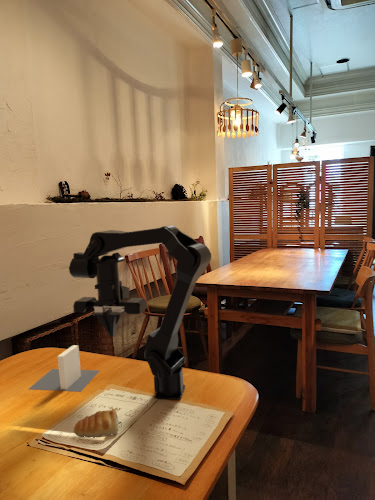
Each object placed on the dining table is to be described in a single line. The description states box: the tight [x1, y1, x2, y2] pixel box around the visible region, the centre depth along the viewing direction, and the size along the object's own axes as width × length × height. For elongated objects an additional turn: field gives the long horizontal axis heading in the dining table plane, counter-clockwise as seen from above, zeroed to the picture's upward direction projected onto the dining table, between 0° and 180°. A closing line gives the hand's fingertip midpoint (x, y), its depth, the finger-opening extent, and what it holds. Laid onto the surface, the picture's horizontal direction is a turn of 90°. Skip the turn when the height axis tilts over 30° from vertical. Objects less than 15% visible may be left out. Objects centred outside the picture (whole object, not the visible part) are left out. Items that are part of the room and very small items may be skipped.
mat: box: [28, 368, 100, 393], centre depth 102 cm, size 15×12×1 cm
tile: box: [57, 344, 82, 389], centre depth 100 cm, size 2×8×9 cm, turn 166°
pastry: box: [73, 408, 119, 439], centre depth 80 cm, size 9×7×4 cm
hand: (112, 336), depth 99 cm, fingers closed
